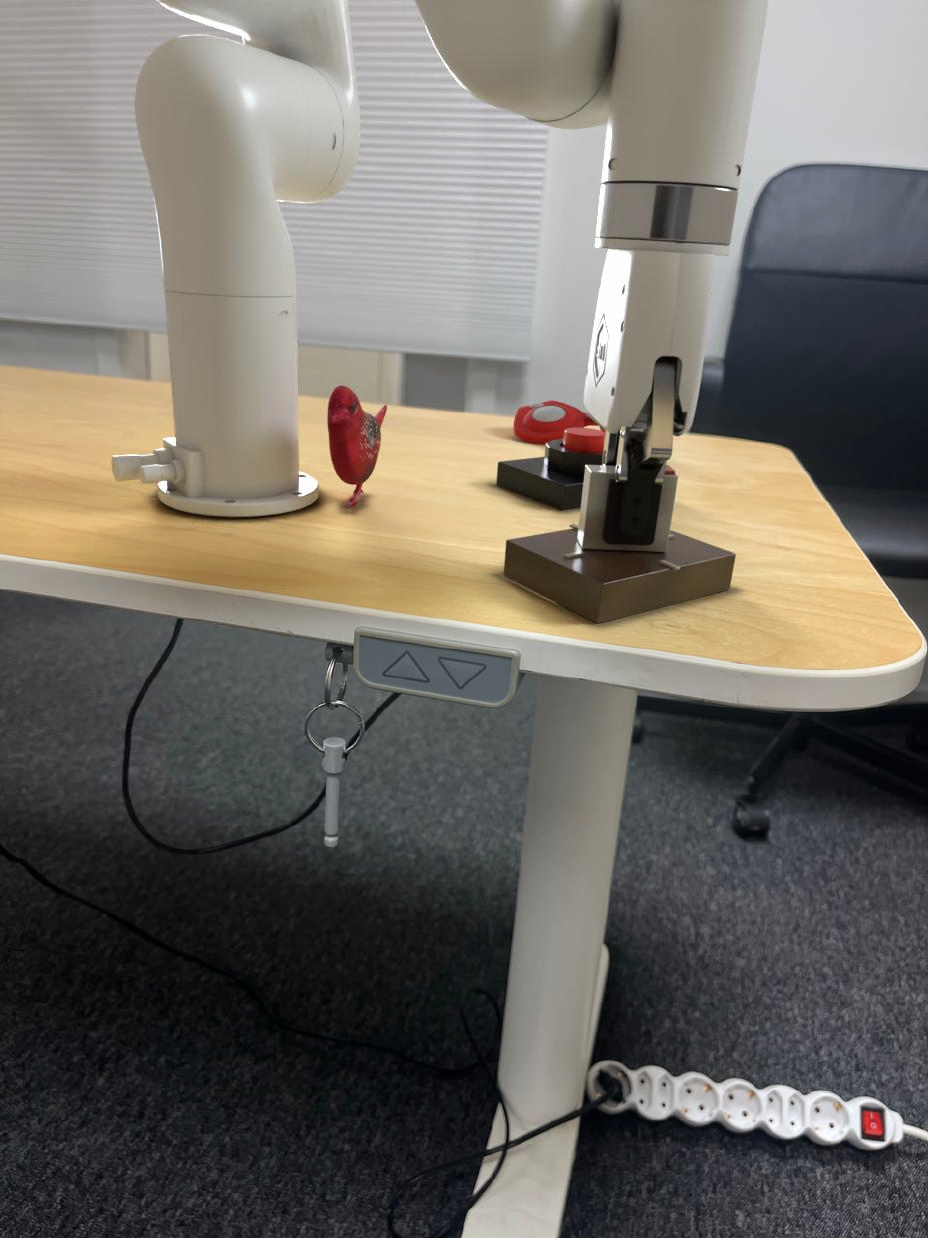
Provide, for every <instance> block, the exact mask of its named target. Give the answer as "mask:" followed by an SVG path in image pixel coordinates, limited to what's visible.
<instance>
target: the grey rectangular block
mask: <svg viewBox="0 0 928 1238" xmlns="http://www.w3.org/2000/svg"><path fill="white" fill-rule="evenodd" d="M615 472H616V466H605V465H586V466H585V474H584V483H583V492H582V501H581V508H580V510H579V519H578V526H579V528H578V537H577V539H578V541H579V543H580V545H581V547H582V548H583V549H600V550H626V551H651V552H667V547H668V540H669V534H670V530H671V528H672V527H671V526H672V519H673V515H674V514H673V513H674V507H675V501H676V494H677V488H678V482H679V476H678V474H677V473H676V471H675V469H673V468H672V467H671V465H669V464H666V468H665V475H664V481H663V485H662V491H661V498H660V505H659V512H658V519H657V525H656V532H655V539H654V542H653V543H652V544H651V545H625V544H608V543H606V542H605V541H604V539H603V527H604V519H605V511H606V503H607V495H608V487H609V479H615Z"/></svg>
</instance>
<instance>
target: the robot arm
mask: <svg viewBox="0 0 928 1238" xmlns="http://www.w3.org/2000/svg"><path fill="white" fill-rule="evenodd" d="M155 1H156V2H158V3H159V4H160V5H161V6H163V7H165V9H168V10H170V11H172V12H174V13H176V14H178V15H180V16H183V17H186V18H188V19H191V20H193V21H196V22H199V23H202V24H205V25H207V26H211V27H213V28H216V29H220V30H222V31H223V30H224V31H227V32H230V33H233V34H235V35H239V36H241V38H242V42H243V43H242V42H239V41H236V40H232V39H230V38H226V37H222V36H216V35H211V34H200V33H199V34H198V33H197V34H195V33H194V34H183V35H179V36H176V37H173V38H170V39H168V40H167V41H164V42H163V43H161V44H160V45H158V46H157V47H156V48H155V49H154V50H153V51H152V52H151V53H150V54H149V56H148V57H147V59H146V60H145V61H144V63H143V65H142V67H141V69H140V72H139V75H138V79H137V81H136V86H135V94H134V114H135V115H134V116H135V123H136V130H137V135H138V139H139V144H140V149H141V152H142V156H143V160H144V163H145V167H146V171H147V175H148V179H149V183H150V187H151V192H152V197H153V203H154V208H155V213H156V222H157V229H158V236H159V248H160V257H161V258H160V259H161V270H162V271H161V272H162V283H163V290H164V303H165V317H166V319H165V320H166V330H167V331H166V332H167V333H166V334H167V345H168V358H169V360H168V361H169V375H170V387H171V388H170V389H171V402H172V414H173V415H172V416H173V431H174V437H163V438H162V440H163V441H162V444H163V447H161V448H154V449H153V450H152V453H149V454H140V455H139V454H122V455H112V457H111V463H110V465H111V471H112V475H113V478H114V480H115V481H116V482H117V483H118V482H127V481H138V480H139V481H140V483H141V484H142V485H148V484H157V486H156V487H157V495H158V496H157V498H158V499H159V501H160V502H162V503H163V504H164V505H165V506H167V507H169V508H172V509H175V510H177V511H181V512H184V513H189V514H194V515H195V514H196V515H201V516H210V517H226V518H251V517H263V516H273V515H280V514H284V513H285V514H286V513H290V512H291V513H292V512H294V511H298V510H302V509H304V508H306V507H308V506H311V505H312V504H314V502H316V501H317V500H318V498H319V496H320V493H319V491H320V490H319V489H320V487H319V486H320V485H319V483H318V480H317V479H316V478H314V477H313V476H312V475H309V474H307V473H305V472H302V471H300V433H299V431H300V430H299V424H300V423H299V373H298V372H299V370H298V308H297V307H298V306H297V300H298V299H297V281H296V280H297V275H296V263H295V254H294V250H293V244H292V241H291V237H290V234H289V230H288V227H287V225H286V222H285V219H284V216H283V213H282V210H281V208H280V207H281V206H280V205H279V202H287V203H297V204H315V203H319V202H320V203H321V202H324V201H326V200H329V199H331V198H333V197H335V196H336V195H337V194H338V193H340V192H341V191H342V190H343V189H344V188H345V187H346V185H347V184H348V182H349V181H350V179H351V177H352V176H353V174H354V171H355V169H356V165H357V163H358V159H359V156H360V155H359V154H360V148H361V133H362V132H361V129H362V128H361V111H360V110H361V109H360V108H361V107H360V101H359V91H358V90H359V89H358V82H357V81H358V79H357V72H356V64H355V55H354V46H353V45H354V44H353V36H352V26H351V19H350V10H349V2H348V1H349V0H155ZM413 1H414V3H415V6H416V8H417V10H418V13H419V15H420V18H421V20H422V22H423V25H424V27H425V29H426V32H427V34H428V36H429V39H430V40H431V43H432V45H433V47H434V48H435V50H436V52H437V54H438V56H439V58H440V59H441V60H442V62H443V64H444V66H445V67H446V69H448V71H449V73H450V74H451V75H452V77H453V78H454V79H455V81H456V82H457V83H458V84H459V85H460V86H461V87H462V88H463V89H464V90H465V91H466V92H467V93H469V94H470V95H471V96H472V97H474V98H475V99H477V100H478V101H481V102H482V103H485V104H488V105H489V106H491V107H495V108H497V109H500V110H504V111H507V112H510V113H513V114H515V115H518V116H521V117H524V118H526V119H527V120H530V121H533V122H535V123H538V124H541V125H545V126H547V127H550V128H555V129H559V130H582V129H590V128H596V127H601V126H605V125H607V128H606V135H605V136H606V137H605V145H604V146H605V147H604V155H603V164H602V173H601V174H602V175H601V186H600V194H599V201H598V202H599V203H598V213H597V222H596V230H595V231H596V232H595V241H594V248H595V249H607V253H606V258H605V261H604V265H603V271H602V275H601V280H600V286H599V291H598V298H597V302H596V309H595V316H594V322H593V329H592V334H591V335H592V336H591V341H590V342H591V343H590V349H589V355H588V356H589V357H588V363H587V368H586V369H587V370H586V377H585V383H584V391H583V406H584V408H585V409H586V411H587V413H588V412H589V413H590V414H591V415H592V416H593V417H594V418H595V419H596V420H597V421H598V422H599V423H600V424H601V425H602V426H603V427H604V428H605V429H606V435H605V443H604V451H603V465H605V466H616V472H615V479H609V487H608V495H607V503H606V511H605V519H604V527H603V539H604V541H605V542H606V543H608V544H625V545H651V544H652V543H653V542H654V539H655V532H656V525H657V519H658V512H659V505H660V498H661V491H662V485H663V481H664V475H665V468H666V465H667V461H669V460H670V459H671V458H672V454H673V449H674V447H673V446H674V437H681V436H683V435H685V434H686V433H687V432H688V431H689V430H690V429H691V428H692V426H693V422H694V418H695V414H696V410H697V406H698V405H697V404H698V399H699V395H700V388H701V382H702V377H703V368H704V361H705V353H706V346H707V345H706V344H707V337H708V327H709V319H710V317H709V316H710V308H711V298H712V293H713V292H712V288H713V275H714V260H715V259H714V258H715V256H725V257H728V256H729V253H730V245H731V242H732V241H731V240H732V236H733V228H734V222H735V215H736V210H737V203H738V198H739V197H738V196H739V192H738V191H739V189H740V183H741V177H742V172H743V164H744V160H745V159H744V158H745V153H746V147H747V140H748V134H749V130H750V129H749V126H750V122H751V115H752V109H753V104H754V103H753V102H754V96H755V90H756V85H757V79H758V71H759V65H760V59H761V52H762V47H763V40H764V35H765V29H766V22H767V17H768V16H767V15H768V7H769V0H413Z"/></svg>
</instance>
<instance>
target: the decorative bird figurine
mask: <svg viewBox="0 0 928 1238" xmlns="http://www.w3.org/2000/svg"><path fill="white" fill-rule="evenodd" d="M387 410H388V406H387V405H386V404H385V405H383V406H382V407H381V408H380V409H379V411H378V412H377V414H375V416H374V415H373V414H371V413H370V412H367V411H365V410H363V408H362V404H361V401H360V400H359V397H358V395H357V394H356V393H355V392H354V391H353V390H352V389H351V388H350V387H348V386H346V385H338V386H336V387H334V389H333V390H332V391H331V393H330V395H329V398H328V403H327V416H326V417H327V418H326V419H327V421H326V422H327V432H328V447H329V454H330V455H329V456H330V460H331V463H332V466H333V470H334V472H335V473H336V475H337V476H338V478H339V480H341V481H342V482H343V483H345V484H346V485H347V484H348V485H352V486H355V489H354V490H353V491H352V496H351V497H350V498H349V500H348V504H347V505H346V509H348V508H349V507H355V506H357V504H358V503H359V501H360V500H361V498H362V494H364V490H363V489H362V487H363V485H364V483H365V482H367V481H368V480H369V478H370V477H371V476H372V474H373V472H374V470H375V468H376V465H377V463H378V462H377V461H378V458H379V453H380V449H381V442H382V440H381V439H382V431H381V427H382V424H383V422H384V419H385V417H386V414H387Z"/></svg>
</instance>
